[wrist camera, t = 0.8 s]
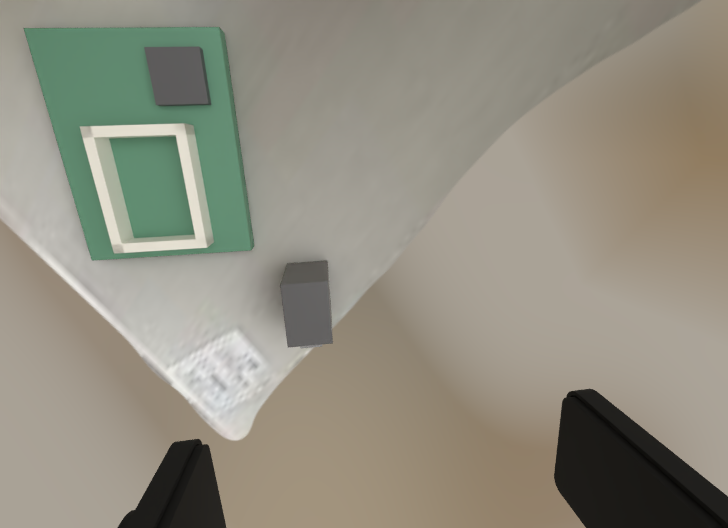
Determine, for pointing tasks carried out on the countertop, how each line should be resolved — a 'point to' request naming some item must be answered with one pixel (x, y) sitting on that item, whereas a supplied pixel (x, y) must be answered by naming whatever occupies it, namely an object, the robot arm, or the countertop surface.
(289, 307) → the plug
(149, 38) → the board
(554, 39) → the countertop surface
